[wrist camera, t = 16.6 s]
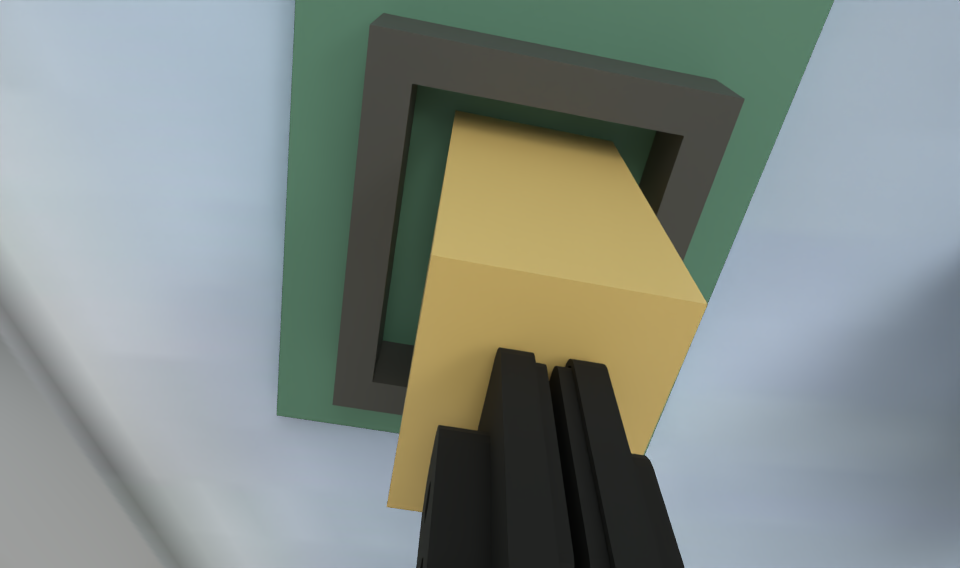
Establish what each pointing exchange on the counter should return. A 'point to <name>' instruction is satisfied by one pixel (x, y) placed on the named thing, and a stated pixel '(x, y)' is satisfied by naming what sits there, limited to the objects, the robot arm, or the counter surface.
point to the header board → (513, 97)
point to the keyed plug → (541, 284)
